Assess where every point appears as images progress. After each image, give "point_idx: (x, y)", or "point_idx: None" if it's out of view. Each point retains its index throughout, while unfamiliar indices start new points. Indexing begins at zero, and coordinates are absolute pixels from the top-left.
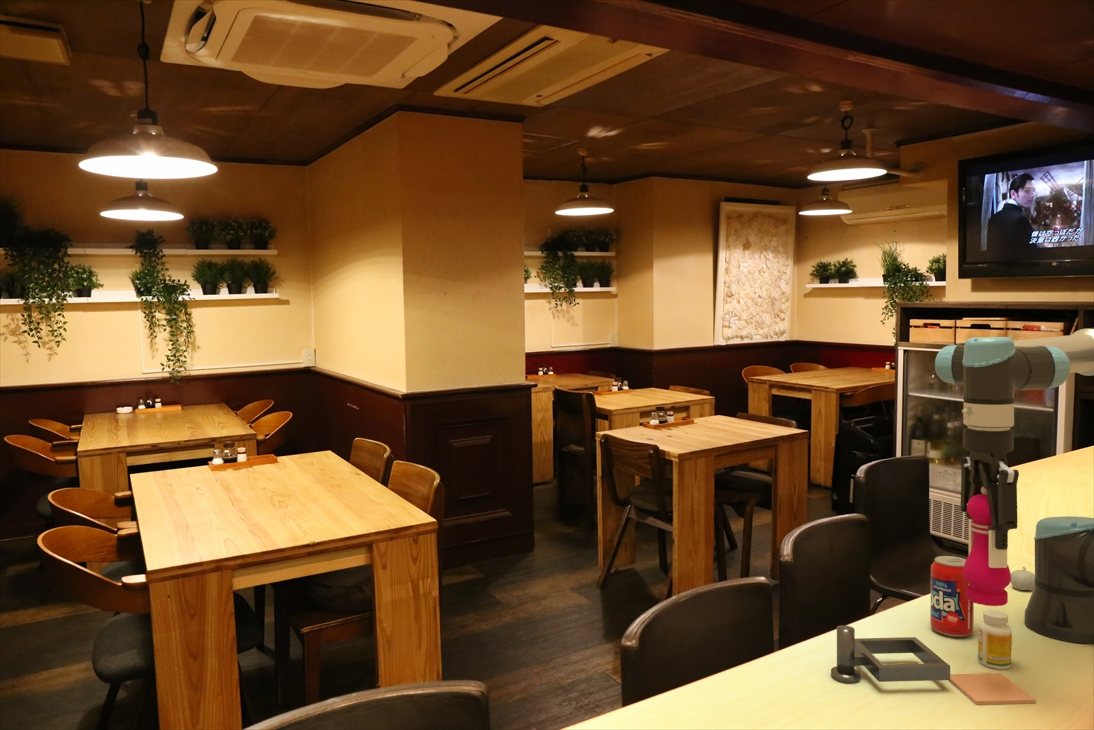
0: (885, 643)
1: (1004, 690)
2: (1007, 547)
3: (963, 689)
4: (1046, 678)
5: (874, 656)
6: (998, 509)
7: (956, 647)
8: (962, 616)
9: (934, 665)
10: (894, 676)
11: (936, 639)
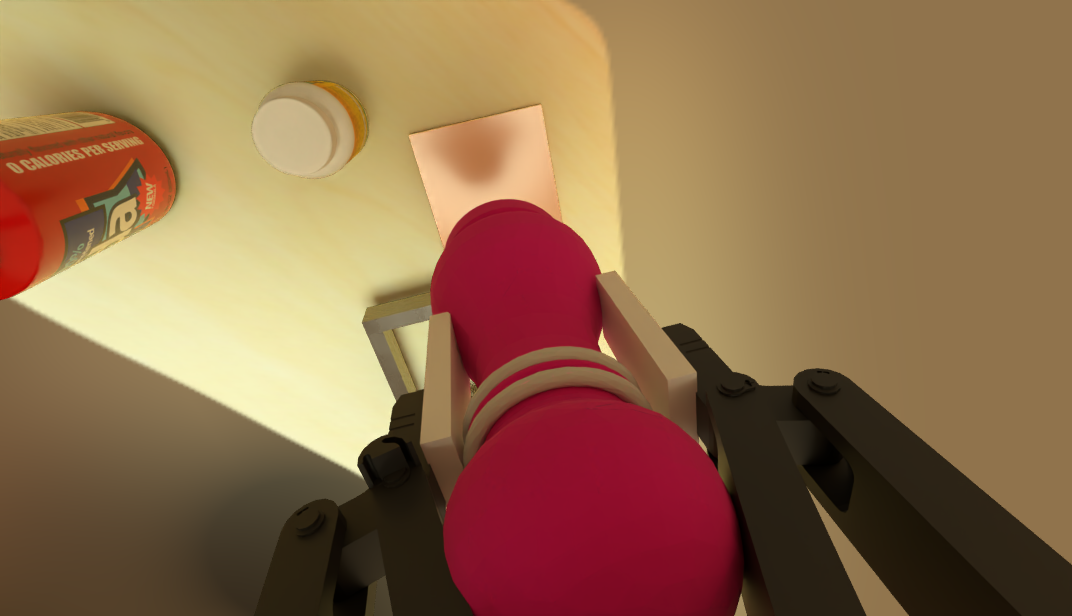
0: (404, 378)
1: (505, 158)
2: (689, 328)
3: None
4: (389, 11)
5: None
6: (870, 560)
7: (245, 187)
8: (135, 169)
9: None
10: None
11: (205, 224)
